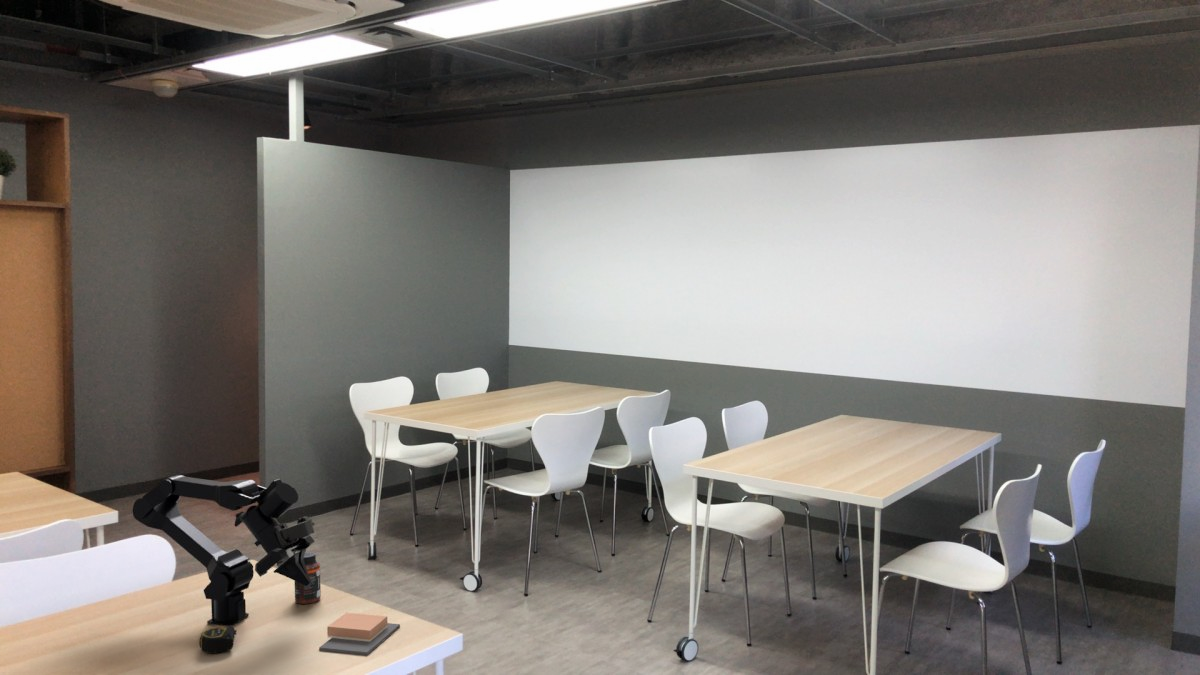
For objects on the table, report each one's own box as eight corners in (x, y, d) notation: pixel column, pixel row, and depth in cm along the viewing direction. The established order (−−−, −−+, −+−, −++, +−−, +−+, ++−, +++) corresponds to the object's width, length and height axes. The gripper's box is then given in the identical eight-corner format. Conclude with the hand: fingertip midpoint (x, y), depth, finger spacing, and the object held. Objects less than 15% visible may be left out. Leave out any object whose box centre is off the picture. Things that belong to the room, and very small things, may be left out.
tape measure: (233, 654, 176) (233, 636, 176) (197, 658, 174) (196, 640, 174) (236, 641, 183) (236, 624, 182) (202, 644, 180) (201, 627, 180)
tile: (327, 626, 182) (369, 630, 180) (346, 612, 190) (387, 616, 188) (327, 637, 182) (370, 641, 180) (346, 623, 190) (387, 626, 188)
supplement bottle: (326, 599, 206) (325, 553, 206) (304, 606, 202) (303, 560, 201) (310, 594, 210) (310, 549, 209) (289, 601, 205) (288, 555, 204)
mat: (319, 650, 177) (319, 647, 177) (355, 622, 192) (355, 620, 192) (367, 655, 175) (367, 652, 175) (399, 626, 190) (399, 624, 190)
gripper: (275, 513, 180) (320, 571, 179) (310, 499, 198) (351, 552, 197) (235, 546, 180) (280, 604, 179) (274, 529, 199) (315, 582, 198)
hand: (308, 584), depth 188 cm, fingers closed
